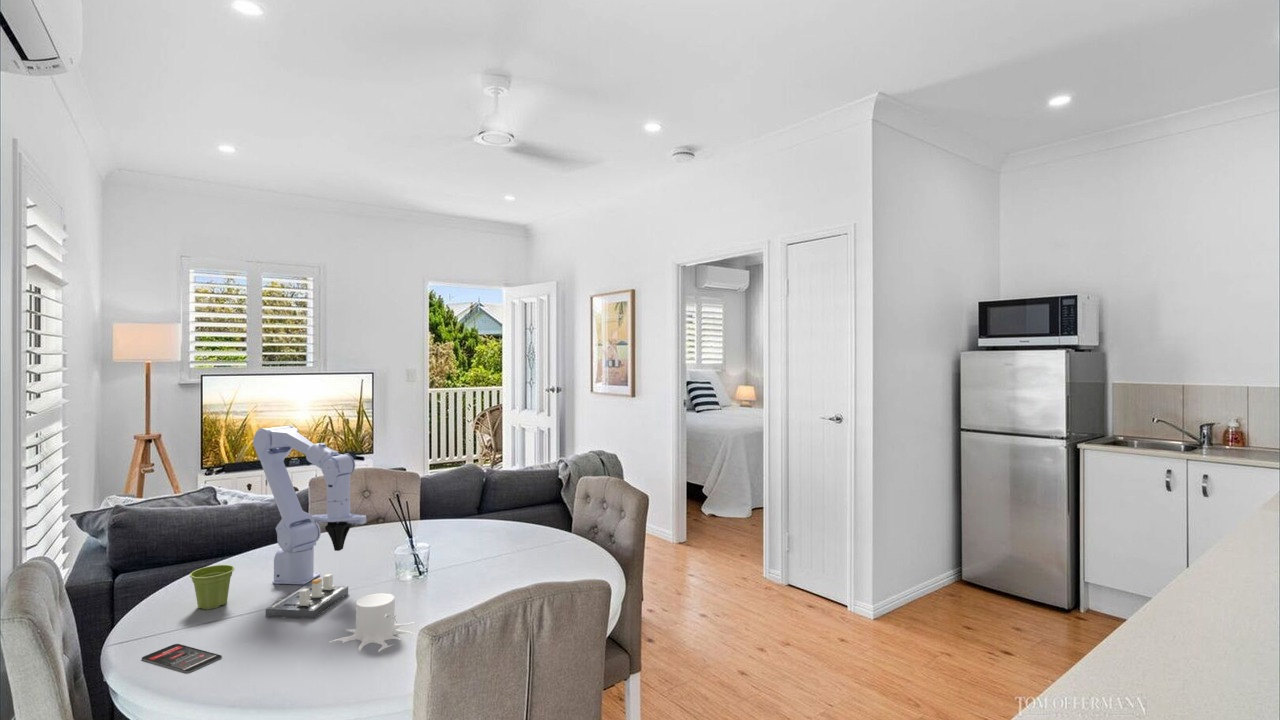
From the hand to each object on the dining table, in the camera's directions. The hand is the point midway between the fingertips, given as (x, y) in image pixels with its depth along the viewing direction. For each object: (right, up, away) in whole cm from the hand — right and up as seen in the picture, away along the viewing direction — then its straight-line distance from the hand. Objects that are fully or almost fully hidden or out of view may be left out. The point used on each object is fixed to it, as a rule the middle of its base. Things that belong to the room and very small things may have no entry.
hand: (338, 549), depth 173 cm
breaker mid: (0, -8, -12) cm, 14 cm away
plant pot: (-26, -11, -12) cm, 31 cm away
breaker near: (0, -8, -17) cm, 19 cm away
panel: (-2, -11, -12) cm, 16 cm away
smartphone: (-14, -11, -40) cm, 44 cm away
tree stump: (+22, -12, -27) cm, 37 cm away
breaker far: (0, -8, -7) cm, 11 cm away
